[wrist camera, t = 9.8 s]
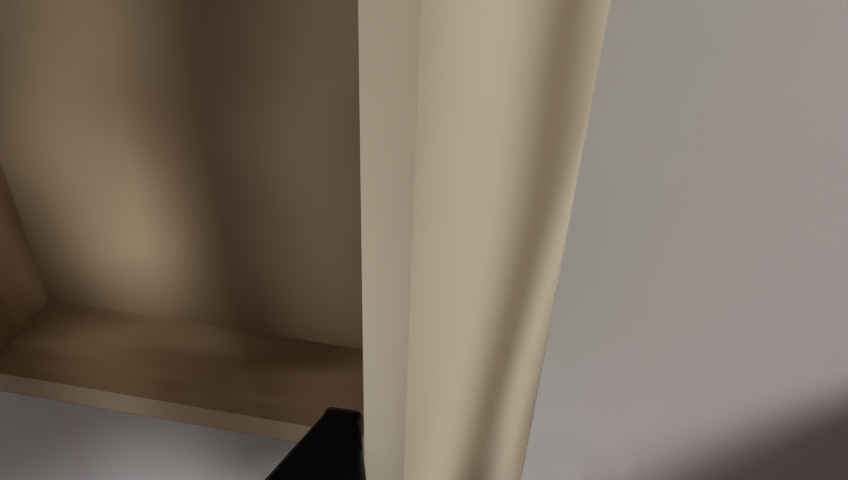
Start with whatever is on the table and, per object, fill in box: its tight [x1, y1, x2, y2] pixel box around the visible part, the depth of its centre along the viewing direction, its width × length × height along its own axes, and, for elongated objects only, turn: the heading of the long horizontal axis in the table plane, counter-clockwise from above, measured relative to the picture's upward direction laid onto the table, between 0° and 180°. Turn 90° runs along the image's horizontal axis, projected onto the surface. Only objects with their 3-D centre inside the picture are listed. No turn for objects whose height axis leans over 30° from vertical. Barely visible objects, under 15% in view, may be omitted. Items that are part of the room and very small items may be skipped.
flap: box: [358, 0, 611, 480], centre depth 12 cm, size 8×19×1 cm
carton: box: [0, 0, 364, 454], centre depth 18 cm, size 16×20×4 cm
